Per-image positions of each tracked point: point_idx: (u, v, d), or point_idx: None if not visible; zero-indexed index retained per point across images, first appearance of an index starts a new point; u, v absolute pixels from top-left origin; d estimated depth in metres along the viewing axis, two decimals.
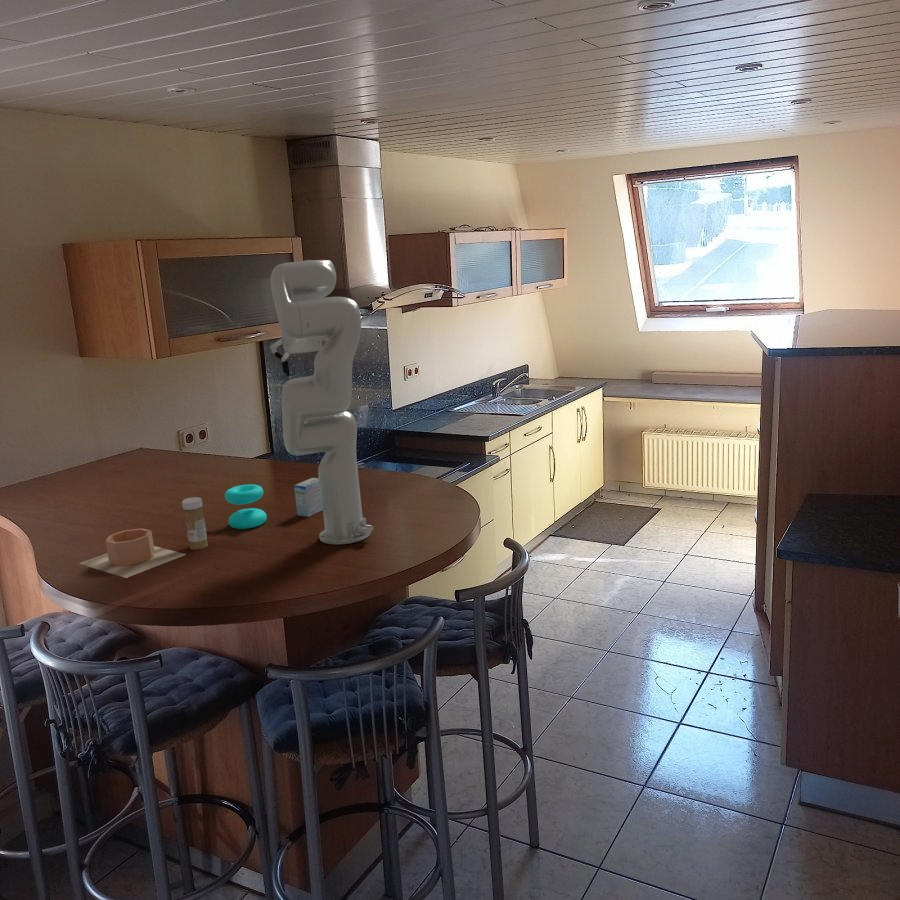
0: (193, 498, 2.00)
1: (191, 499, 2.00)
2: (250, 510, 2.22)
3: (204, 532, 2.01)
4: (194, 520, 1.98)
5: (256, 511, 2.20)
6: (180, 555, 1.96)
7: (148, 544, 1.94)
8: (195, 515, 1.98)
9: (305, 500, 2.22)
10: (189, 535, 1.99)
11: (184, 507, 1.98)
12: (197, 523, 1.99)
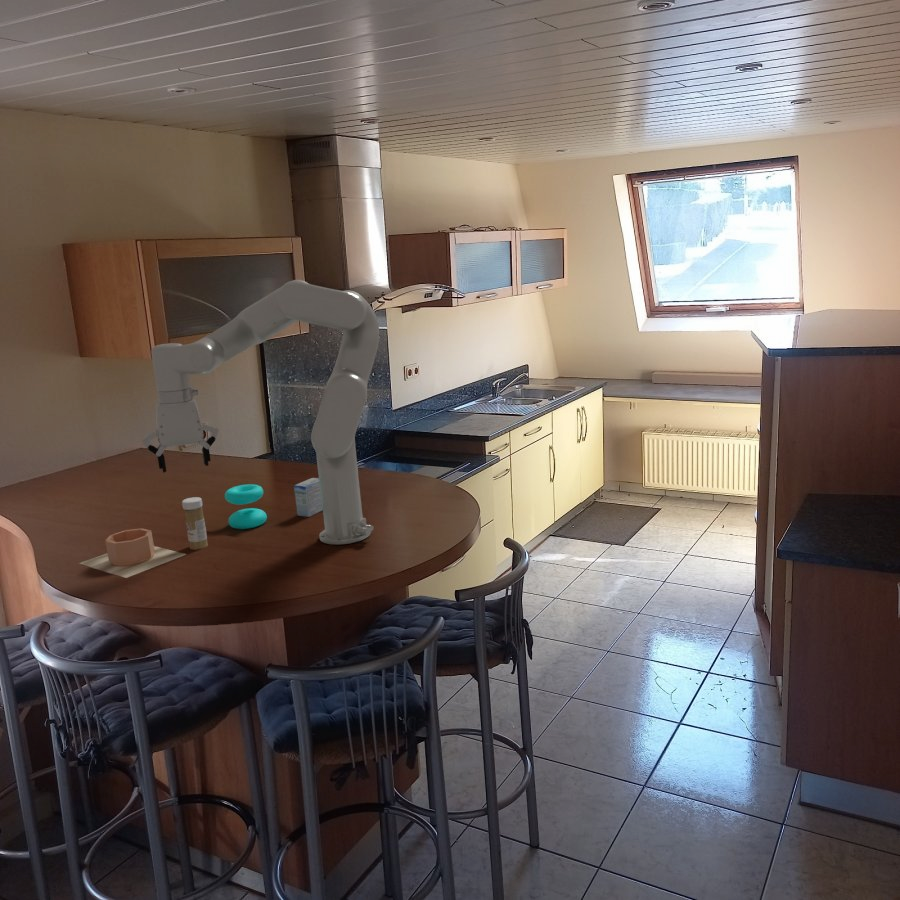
0: (193, 498, 2.00)
1: (191, 499, 2.00)
2: (250, 510, 2.22)
3: (204, 532, 2.01)
4: (194, 520, 1.98)
5: (256, 511, 2.20)
6: (180, 555, 1.96)
7: (148, 544, 1.94)
8: (195, 515, 1.98)
9: (305, 500, 2.22)
10: (189, 535, 1.99)
11: (184, 507, 1.98)
12: (197, 523, 1.99)
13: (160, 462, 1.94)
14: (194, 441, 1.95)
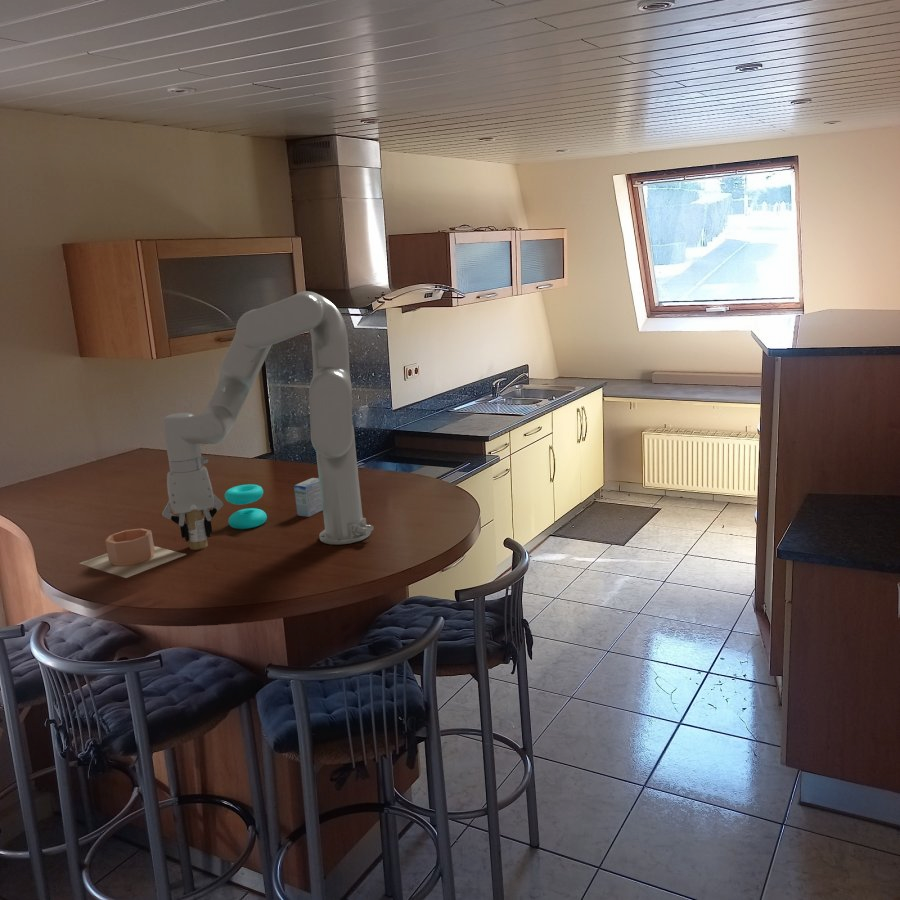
0: None
1: None
2: (250, 510, 2.22)
3: (204, 532, 2.01)
4: (193, 520, 1.98)
5: (256, 511, 2.20)
6: (180, 555, 1.96)
7: (148, 544, 1.94)
8: (195, 515, 1.98)
9: (305, 500, 2.22)
10: (189, 535, 1.99)
11: None
12: (197, 523, 1.99)
13: (183, 531, 1.99)
14: (205, 508, 1.99)
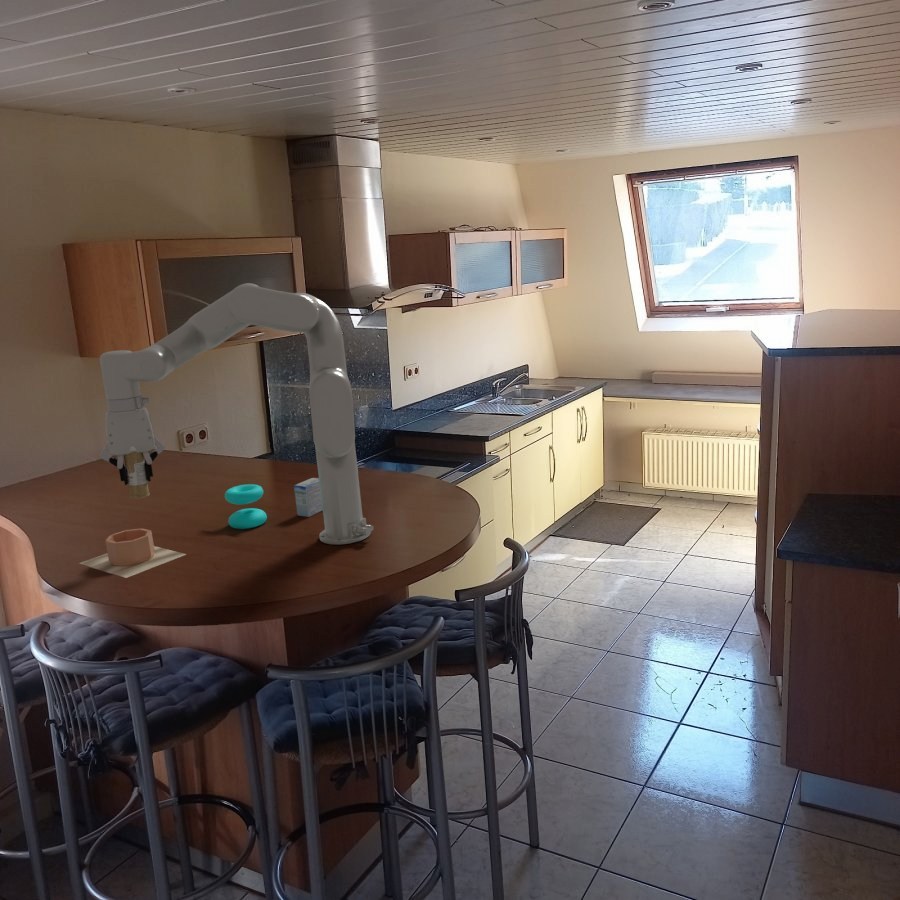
0: None
1: None
2: (250, 510, 2.22)
3: (144, 476, 1.93)
4: (133, 463, 1.91)
5: (256, 511, 2.20)
6: (180, 555, 1.96)
7: (148, 544, 1.94)
8: (134, 457, 1.91)
9: (305, 500, 2.22)
10: (128, 478, 1.92)
11: None
12: (136, 465, 1.91)
13: (121, 474, 1.92)
14: (145, 450, 1.91)
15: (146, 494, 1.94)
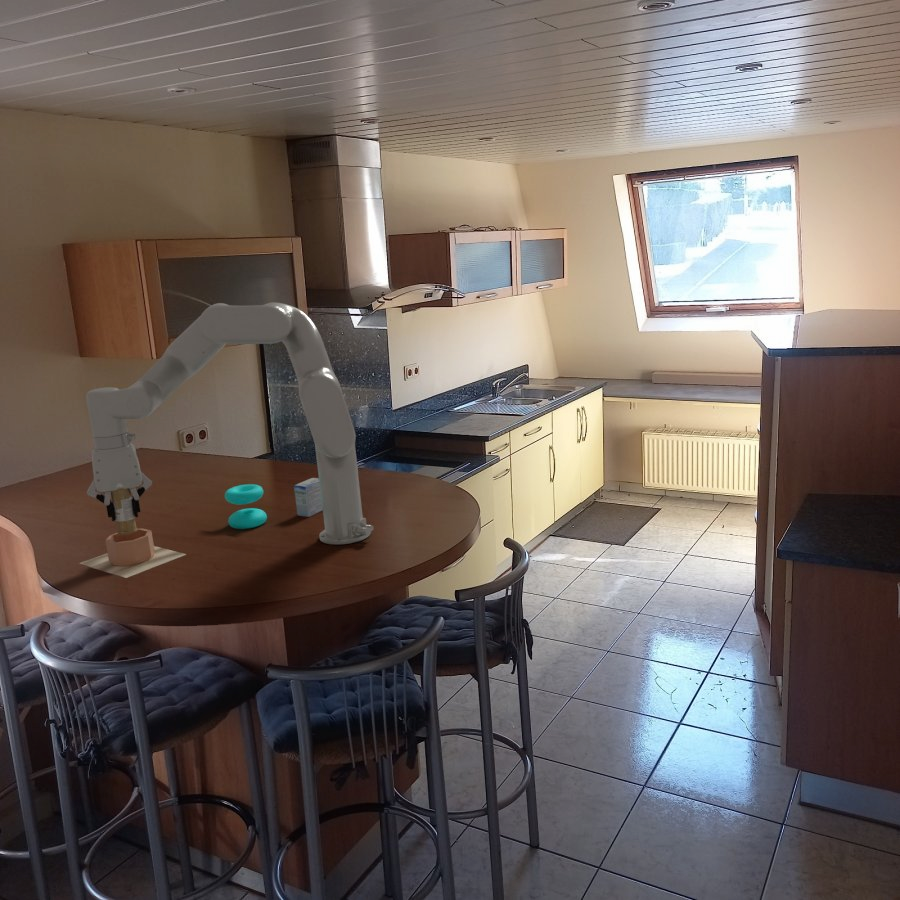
0: None
1: None
2: (250, 510, 2.22)
3: (131, 511, 1.93)
4: (120, 499, 1.91)
5: (256, 511, 2.20)
6: (180, 555, 1.96)
7: (148, 544, 1.94)
8: (121, 494, 1.91)
9: (305, 500, 2.22)
10: (115, 514, 1.92)
11: None
12: (123, 501, 1.92)
13: (109, 511, 1.92)
14: (132, 486, 1.92)
15: (133, 530, 1.94)
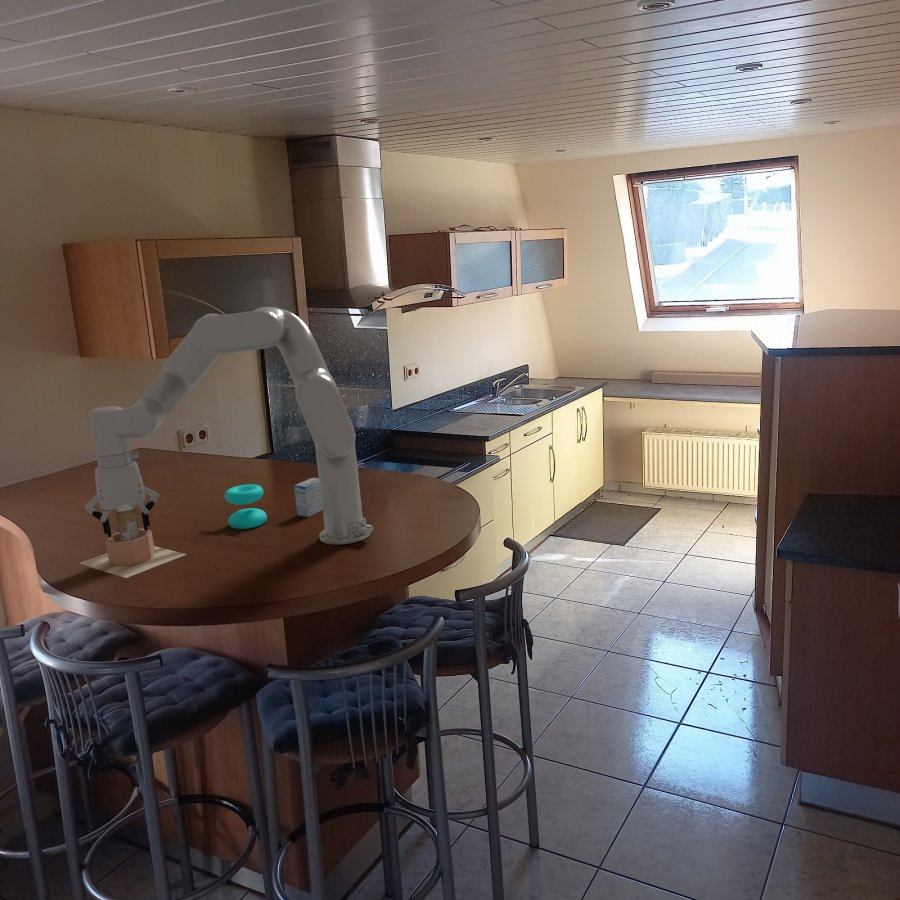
0: None
1: None
2: (250, 510, 2.22)
3: (137, 535, 1.95)
4: (126, 522, 1.93)
5: (256, 511, 2.20)
6: (180, 555, 1.96)
7: (148, 544, 1.94)
8: (127, 517, 1.93)
9: (305, 500, 2.22)
10: (121, 538, 1.94)
11: None
12: (129, 525, 1.93)
13: (105, 527, 1.92)
14: (135, 504, 1.93)
15: None
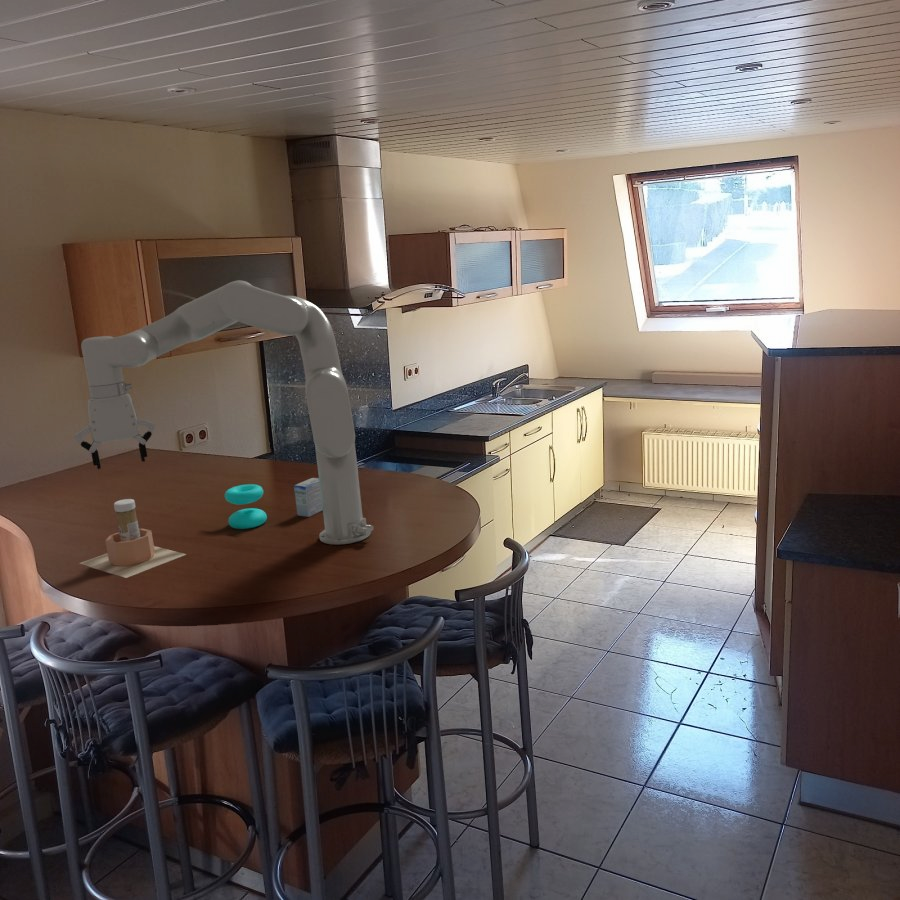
0: (126, 500, 1.94)
1: (123, 500, 1.94)
2: (250, 510, 2.22)
3: (137, 535, 1.95)
4: (126, 523, 1.93)
5: (256, 511, 2.20)
6: (180, 555, 1.96)
7: (148, 544, 1.94)
8: (127, 518, 1.93)
9: (305, 500, 2.22)
10: (121, 538, 1.94)
11: (116, 509, 1.92)
12: (129, 525, 1.93)
13: (94, 459, 1.89)
14: (129, 436, 1.90)
15: None
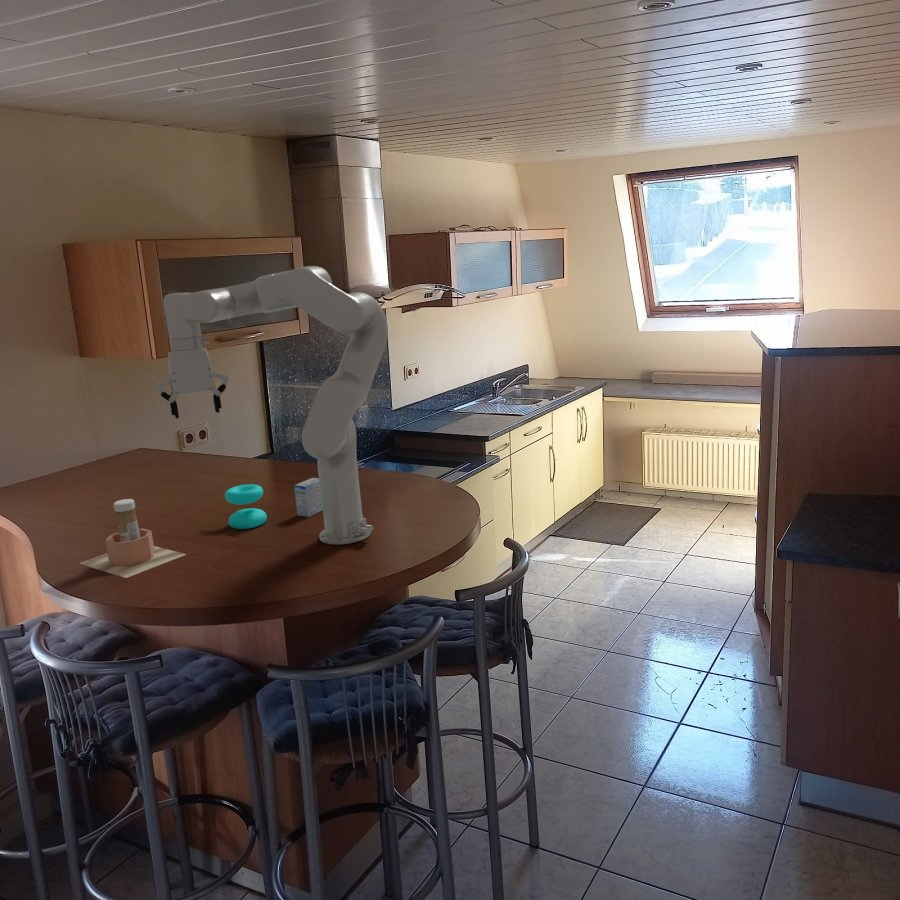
0: (125, 500, 1.94)
1: (123, 500, 1.94)
2: (250, 510, 2.22)
3: (137, 535, 1.95)
4: (125, 523, 1.93)
5: (256, 511, 2.20)
6: (180, 555, 1.96)
7: (148, 544, 1.94)
8: (127, 518, 1.93)
9: (305, 500, 2.22)
10: (121, 538, 1.94)
11: (115, 509, 1.92)
12: (129, 525, 1.93)
13: (173, 408, 2.00)
14: (205, 388, 2.01)
15: None
